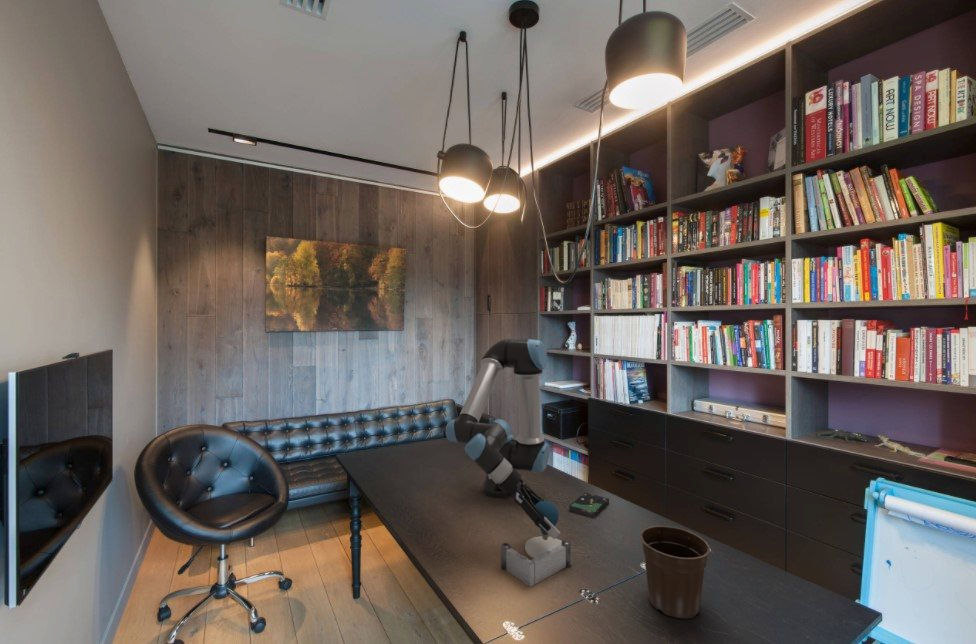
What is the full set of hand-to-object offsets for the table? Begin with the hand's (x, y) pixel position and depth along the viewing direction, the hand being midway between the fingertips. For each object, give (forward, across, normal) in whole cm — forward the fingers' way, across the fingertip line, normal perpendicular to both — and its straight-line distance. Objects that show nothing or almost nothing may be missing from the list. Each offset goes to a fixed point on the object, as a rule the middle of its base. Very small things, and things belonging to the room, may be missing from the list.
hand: (556, 528), depth 133 cm
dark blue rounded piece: (0, 0, -5) cm, 5 cm away
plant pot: (+25, +22, +15) cm, 37 cm away
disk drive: (+16, -32, +5) cm, 36 cm away
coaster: (+3, 0, -7) cm, 8 cm away
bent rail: (0, +9, -10) cm, 13 cm away
